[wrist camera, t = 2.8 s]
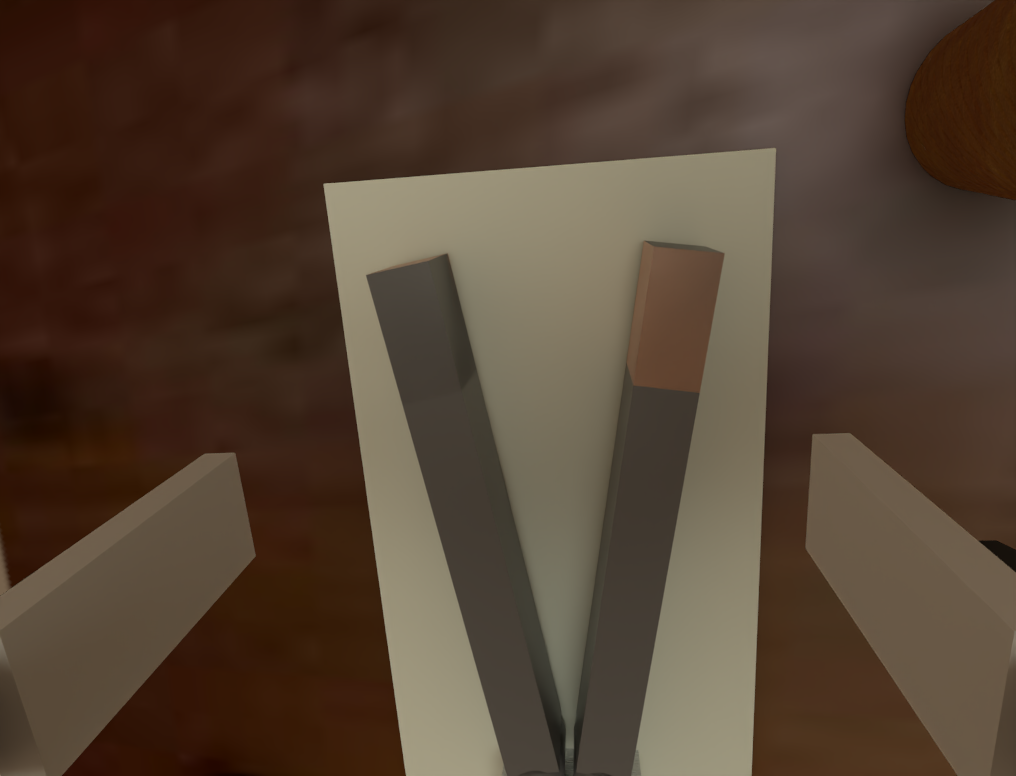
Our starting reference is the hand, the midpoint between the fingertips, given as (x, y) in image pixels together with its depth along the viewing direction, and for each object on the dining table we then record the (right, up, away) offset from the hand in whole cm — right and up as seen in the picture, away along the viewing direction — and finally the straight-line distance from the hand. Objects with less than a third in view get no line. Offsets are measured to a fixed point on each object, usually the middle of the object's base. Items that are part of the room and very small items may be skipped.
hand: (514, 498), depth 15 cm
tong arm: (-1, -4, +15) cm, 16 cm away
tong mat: (+2, -4, +16) cm, 17 cm away
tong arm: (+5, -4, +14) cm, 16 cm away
